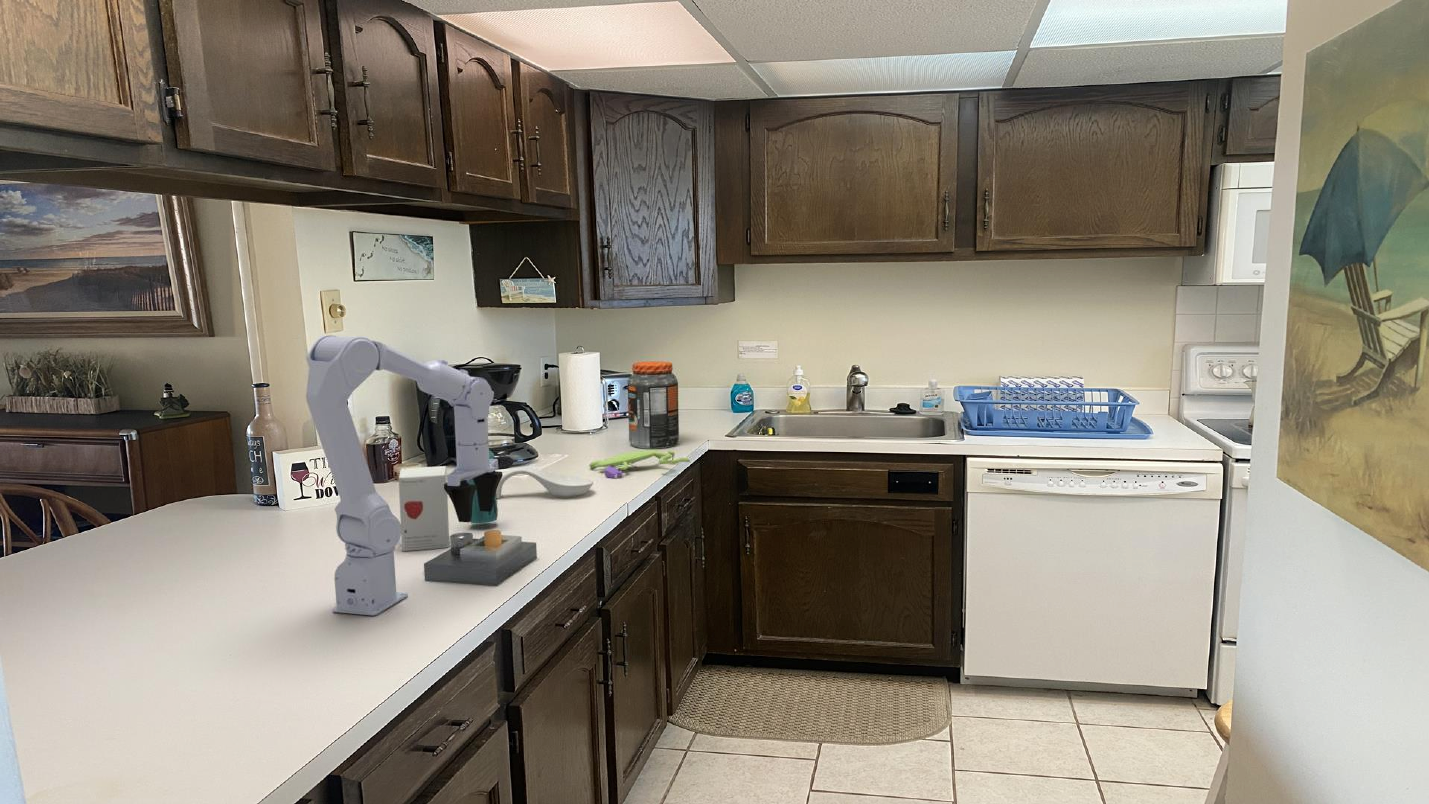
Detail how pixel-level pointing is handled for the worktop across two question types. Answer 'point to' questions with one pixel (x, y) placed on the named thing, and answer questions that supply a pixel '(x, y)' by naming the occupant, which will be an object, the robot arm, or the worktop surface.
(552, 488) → the spoon rest
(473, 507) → the beverage bottle
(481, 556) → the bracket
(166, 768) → the worktop surface
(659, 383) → the supplement tub
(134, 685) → the worktop surface
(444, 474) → the supplement box
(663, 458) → the figurine
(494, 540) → the pin
